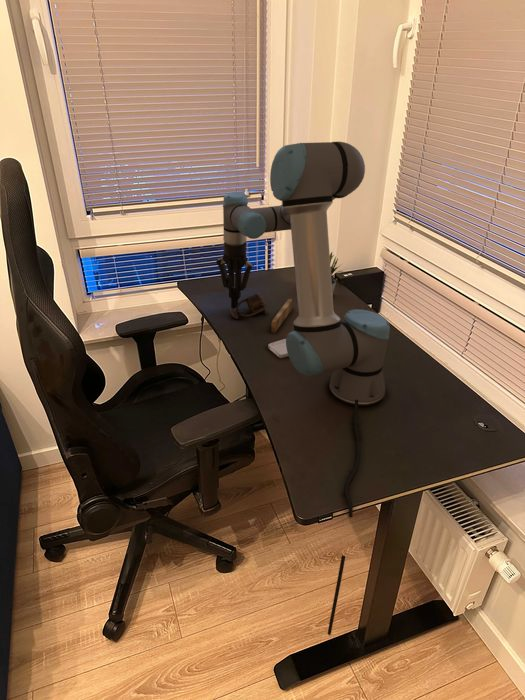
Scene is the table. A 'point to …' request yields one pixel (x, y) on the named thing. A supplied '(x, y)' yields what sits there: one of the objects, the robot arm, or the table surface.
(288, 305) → the rail
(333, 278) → the house plant
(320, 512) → the table surface
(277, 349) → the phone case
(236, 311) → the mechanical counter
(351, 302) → the table surface
